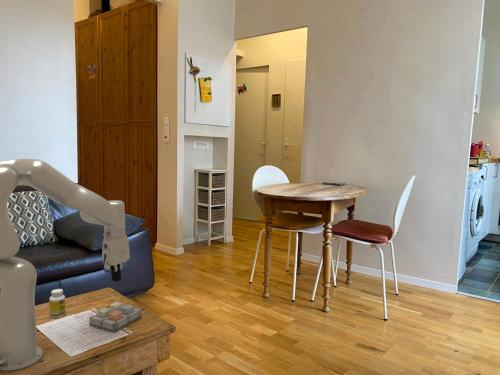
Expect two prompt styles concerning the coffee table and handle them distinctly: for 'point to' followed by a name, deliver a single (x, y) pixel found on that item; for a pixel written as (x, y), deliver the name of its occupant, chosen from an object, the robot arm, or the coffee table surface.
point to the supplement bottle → (57, 303)
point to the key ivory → (116, 306)
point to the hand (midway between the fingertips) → (116, 280)
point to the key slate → (127, 309)
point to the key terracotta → (115, 315)
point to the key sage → (103, 312)
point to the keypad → (112, 325)
